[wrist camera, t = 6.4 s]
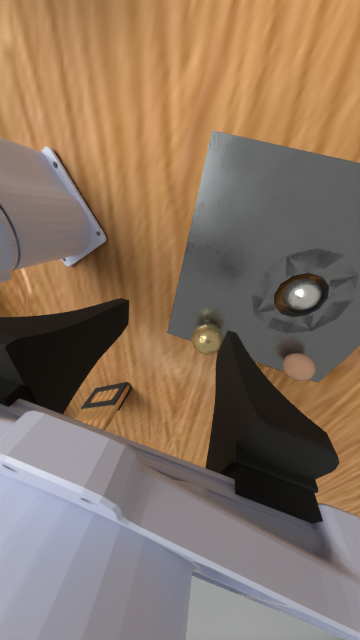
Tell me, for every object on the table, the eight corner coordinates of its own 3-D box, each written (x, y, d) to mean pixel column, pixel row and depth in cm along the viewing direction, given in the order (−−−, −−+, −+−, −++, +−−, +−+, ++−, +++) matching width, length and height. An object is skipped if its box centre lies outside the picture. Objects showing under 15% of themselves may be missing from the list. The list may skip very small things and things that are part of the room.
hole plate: (172, 323, 25) (167, 332, 22) (214, 143, 14) (212, 130, 12) (309, 367, 23) (318, 382, 21) (473, 202, 12) (523, 199, 10)
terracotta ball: (276, 350, 20) (283, 369, 17) (306, 344, 19) (318, 364, 16) (282, 368, 21) (289, 388, 19) (310, 364, 20) (322, 385, 17)
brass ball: (189, 322, 21) (183, 339, 18) (217, 313, 19) (215, 331, 16) (201, 344, 22) (197, 364, 19) (227, 337, 21) (228, 358, 18)
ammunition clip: (127, 381, 35) (88, 446, 25) (132, 387, 36) (96, 453, 26) (95, 388, 40) (51, 445, 30) (100, 393, 40) (58, 451, 30)
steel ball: (333, 304, 16) (312, 290, 18) (325, 278, 14) (303, 267, 17) (298, 321, 17) (282, 305, 20) (287, 298, 16) (272, 285, 18)
